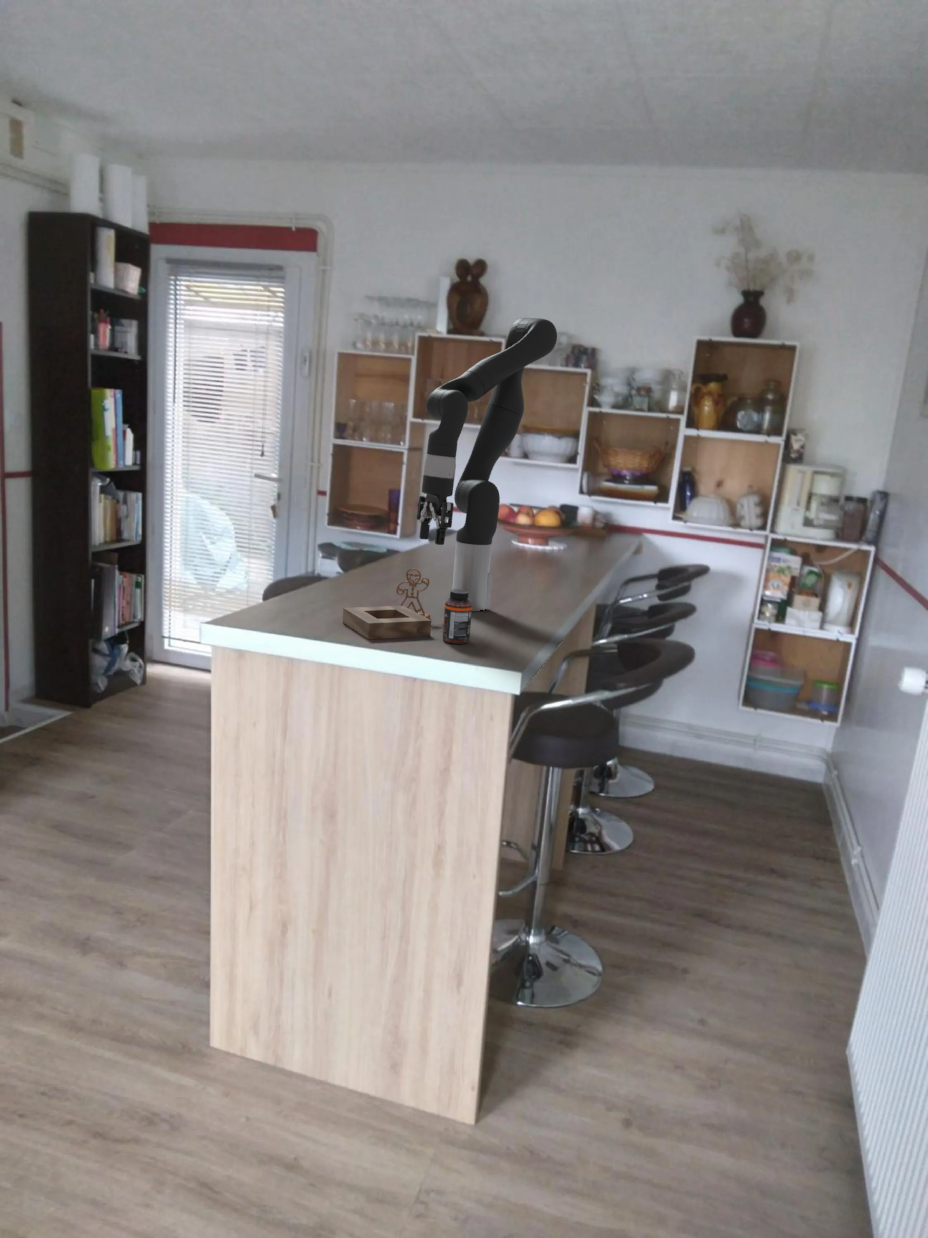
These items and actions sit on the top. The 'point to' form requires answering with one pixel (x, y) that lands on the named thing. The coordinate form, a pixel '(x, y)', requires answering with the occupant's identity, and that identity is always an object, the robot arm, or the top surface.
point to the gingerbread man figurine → (412, 591)
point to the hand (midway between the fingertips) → (431, 541)
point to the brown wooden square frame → (386, 622)
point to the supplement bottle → (457, 617)
